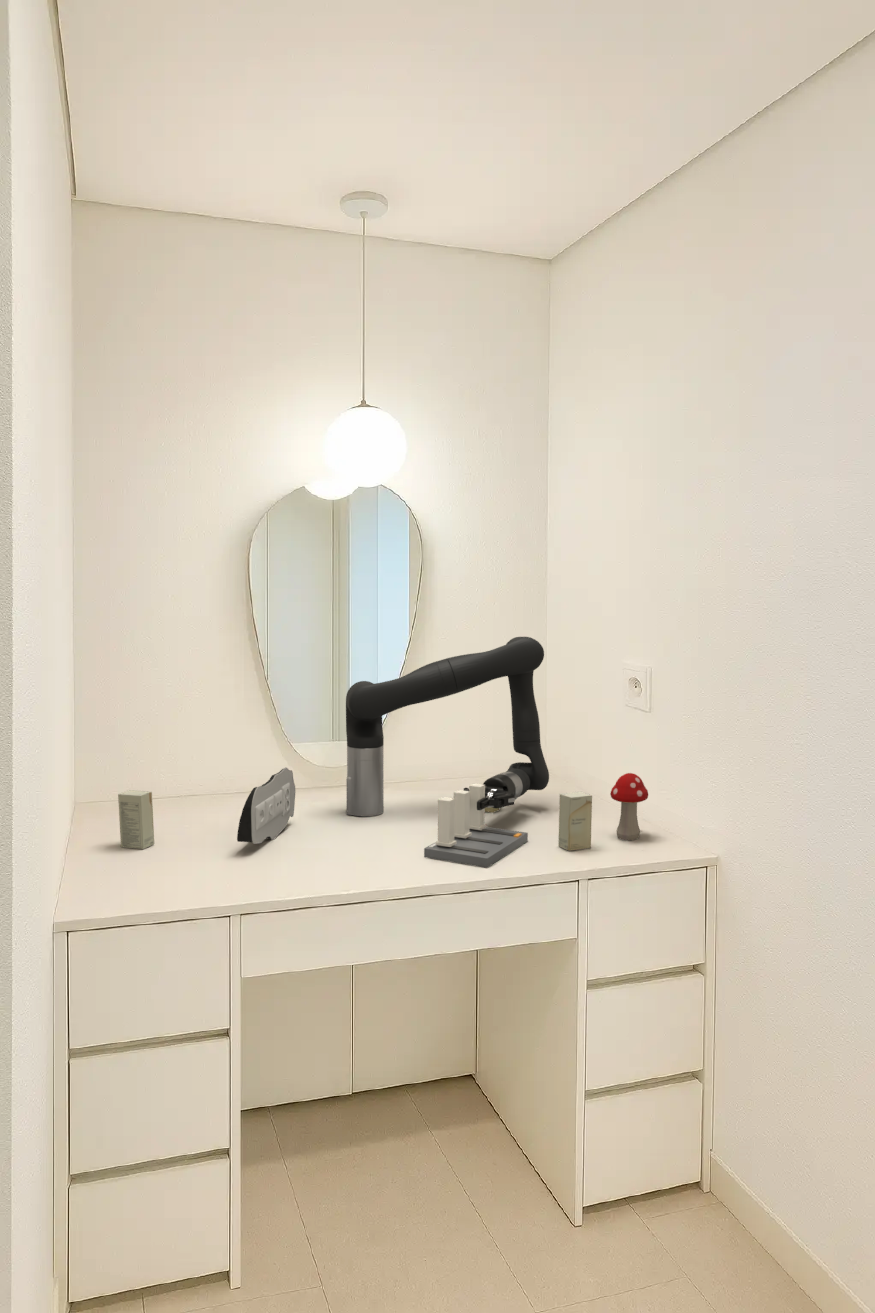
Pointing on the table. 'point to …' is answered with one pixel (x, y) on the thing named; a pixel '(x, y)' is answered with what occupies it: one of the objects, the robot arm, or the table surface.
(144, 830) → the skincare box
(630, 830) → the decorative mushroom
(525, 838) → the board
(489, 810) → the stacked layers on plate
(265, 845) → the table surface
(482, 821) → the post
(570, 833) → the skincare box
